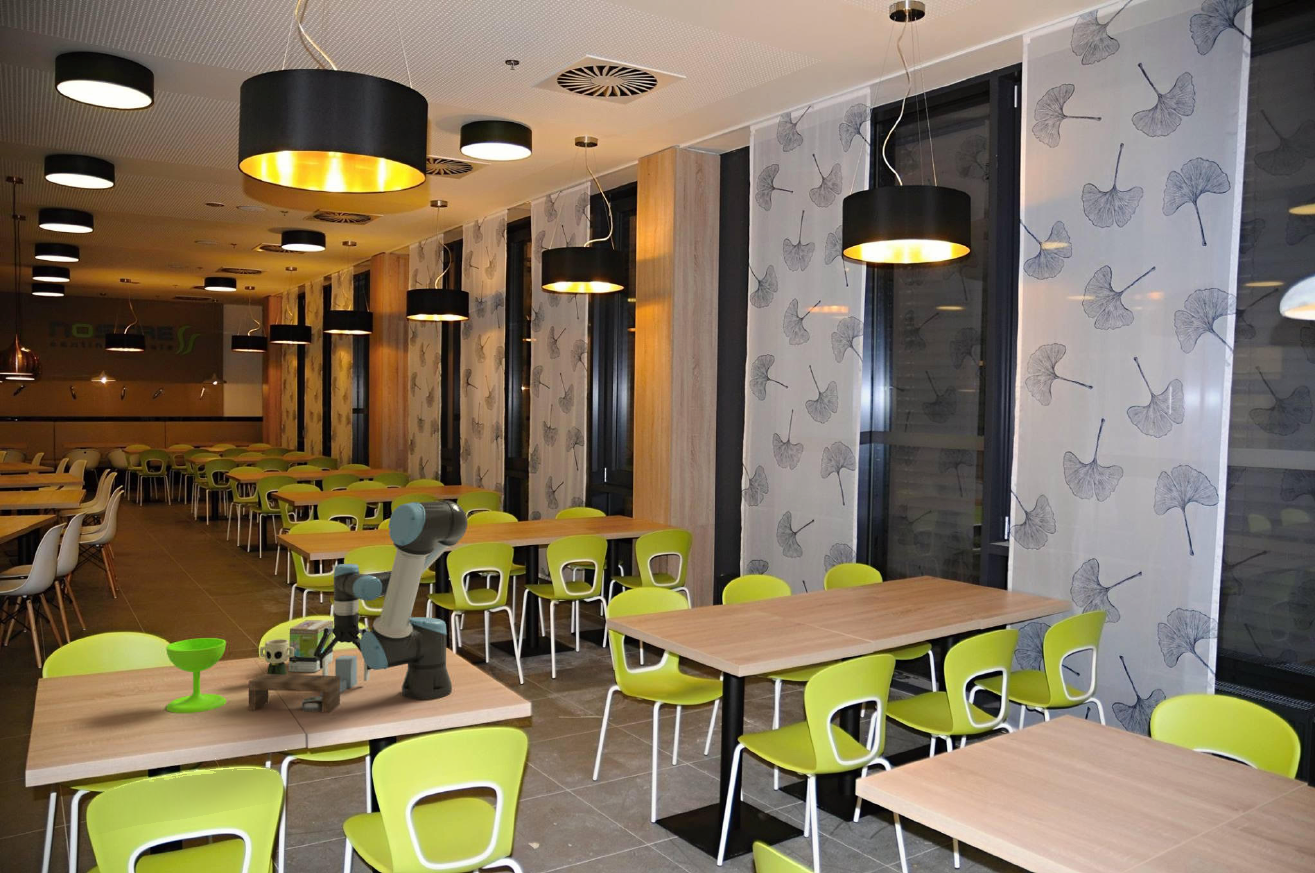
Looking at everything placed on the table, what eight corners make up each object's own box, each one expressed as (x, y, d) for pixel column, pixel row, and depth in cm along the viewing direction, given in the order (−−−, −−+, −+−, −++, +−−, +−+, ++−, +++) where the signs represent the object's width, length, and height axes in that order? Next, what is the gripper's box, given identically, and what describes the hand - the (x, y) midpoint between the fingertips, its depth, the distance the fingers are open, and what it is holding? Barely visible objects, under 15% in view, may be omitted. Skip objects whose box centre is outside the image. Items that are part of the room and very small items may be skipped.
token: (330, 705, 281) (330, 696, 281) (321, 712, 274) (321, 703, 274) (307, 704, 282) (307, 696, 282) (297, 711, 275) (298, 703, 275)
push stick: (341, 683, 304) (341, 655, 304) (356, 683, 304) (356, 655, 304) (317, 700, 286) (317, 670, 286) (333, 700, 285) (333, 670, 285)
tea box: (317, 672, 317) (317, 628, 316) (287, 672, 317) (287, 628, 317) (333, 661, 332) (333, 619, 332) (305, 660, 332) (305, 618, 332)
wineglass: (157, 705, 280) (157, 644, 280) (212, 693, 292) (212, 635, 291) (179, 716, 269) (179, 653, 269) (235, 704, 281) (235, 644, 281)
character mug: (255, 684, 302) (255, 643, 302) (264, 678, 309) (264, 638, 309) (289, 684, 302) (289, 644, 302) (297, 678, 309) (297, 638, 309)
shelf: (339, 704, 282) (339, 675, 281) (328, 712, 274) (328, 683, 273) (261, 702, 283) (261, 673, 283) (248, 710, 275) (248, 681, 275)
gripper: (388, 611, 304) (388, 676, 304) (313, 609, 306) (313, 674, 306) (380, 616, 296) (379, 683, 297) (303, 614, 298) (302, 681, 299)
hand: (345, 679), depth 302 cm, fingers open, 13 cm apart
